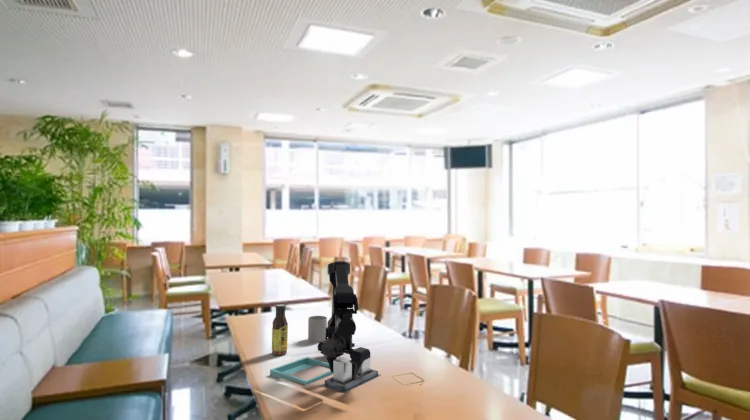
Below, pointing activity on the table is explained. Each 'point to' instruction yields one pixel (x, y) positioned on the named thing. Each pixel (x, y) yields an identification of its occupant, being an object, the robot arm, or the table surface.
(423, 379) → the yellow square frame
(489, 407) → the table surface
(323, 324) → the cup
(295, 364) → the teal tray
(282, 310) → the sauce bottle
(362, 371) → the block
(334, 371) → the billet
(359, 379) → the dark grey tray
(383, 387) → the table surface
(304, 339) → the table surface
